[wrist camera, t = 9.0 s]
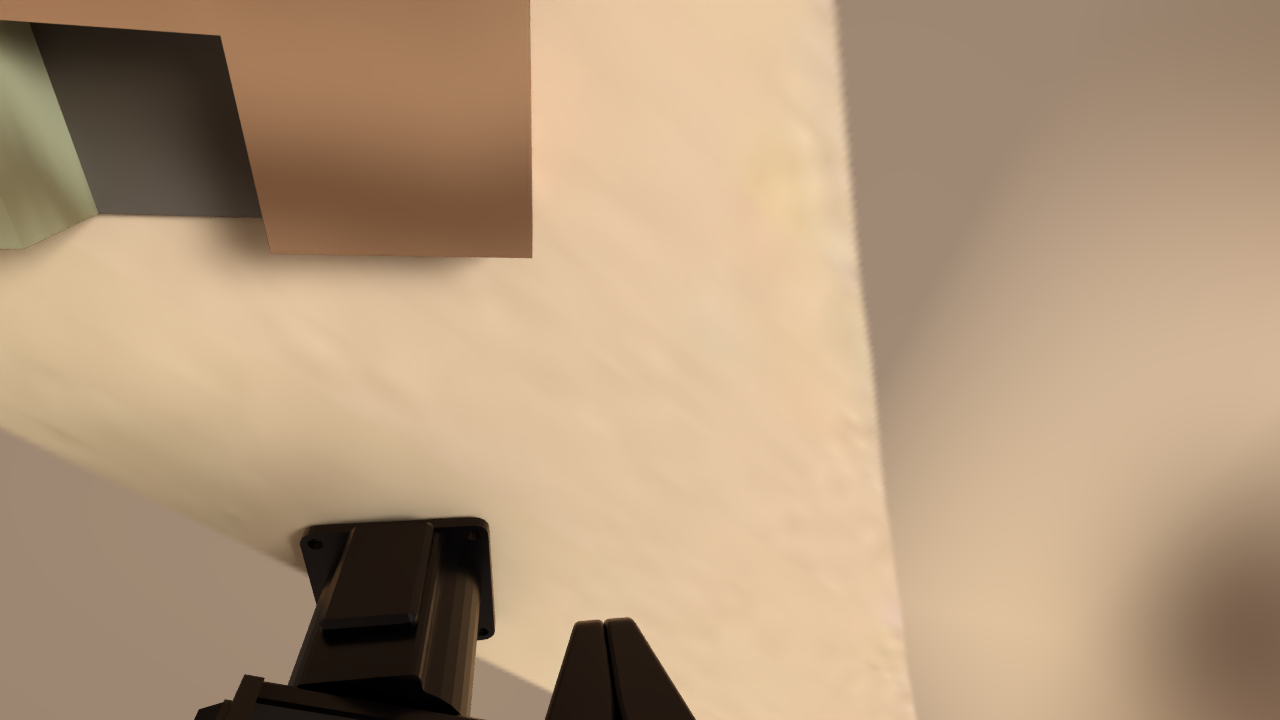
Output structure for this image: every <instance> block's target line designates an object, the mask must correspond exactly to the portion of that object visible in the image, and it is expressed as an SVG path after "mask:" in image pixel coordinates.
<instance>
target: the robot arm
mask: <svg viewBox="0 0 1280 720" xmlns="http://www.w3.org/2000/svg"><path fill="white" fill-rule="evenodd" d="M473 530H476V531H479V532H476V533H475V532H471V531H473ZM314 539H318V540H320V541H316V540H314ZM300 546H301V550H302V554H303V557H304V561H305V564H306V568H307V572H308V575H309V579H310V583H311V586H312V589H313V593H314V597H315V601H316V604H317V606H316V609H315V611H314V614H313V617H312V620H311V623H310V625H309V628H308V631H307V633H306V636H305V639H304V642H303V644H302V647H301V650H300V653H299V655H298V658H297V661H296V664H295V666H294V669H293V672H292V675H291V678H290V680H289V683H288V686H287V685H282V684H276V683H270V682H264V678H262V677H257V676H251V675H244V677H243V679H242V681H241V684H240V686H239V688H238V690H237V692H236V694H235V697H234V699H233V701H231V700H224V702H222V703H219V704H216V705H212V706H209V707H206V708H202V709H199V710H198V713H197V715H196V717H195V719H194V720H484V719H478V718H472V717H470V709H471V699H472V688H473V677H474V664H475V655H476V643H477V640H485V639H488V638H490V637H492V636H493V635H494V632H495V611H494V595H493V579H492V564H491V548H490V532H489V525H488V523H487V522H486V521H485V520H483V519H481V518H459V519H439V520H420V521H400V522H380V523H360V524H341V525H321V526H312V527H309V528H308V529H306V530H305V532H304V534H303V536H302V538H301V541H300ZM545 720H696V719H695V717H694V716H693V714H692V713H691V711H690V709H689V708H688V706H687V705H686V703H685V701H684V700H683V698H682V697H681V695H680V693H679V692H678V690H677V689H676V687H675V685H674V684H673V682H672V681H671V679H670V677H669V676H668V674H667V673H666V671H665V669H664V668H663V666H662V665H661V663H660V661H659V660H658V658H657V657H656V655H655V653H654V652H653V650H652V649H651V647H650V645H649V644H648V642H647V641H646V639H645V637H644V636H643V634H642V633H641V631H640V629H639V628H638V626H637V625H636V623H635V622H634V621H633V620H632V619H631V618H629V617H625V618H613V619H607V620H605V622H604V624H603V622H602V621H600V620H588V621H578V622H576V623H575V625H574V627H573V630H572V633H571V636H570V640H569V643H568V646H567V649H566V653H565V656H564V659H563V662H562V666H561V669H560V672H559V675H558V679H557V682H556V685H555V688H554V691H553V695H552V698H551V701H550V705H549V708H548V711H547V714H546V717H545Z"/></svg>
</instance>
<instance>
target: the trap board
mask: <svg viewBox="0 0 1280 720" xmlns="http://www.w3.org/2000/svg"><path fill="white" fill-rule="evenodd" d="M98 213H102V214H139V215H177V216H214V217H251V218H263V221H264V226H265V230H266V234H267V239H268V243H269V247H270V251H271V253H276V254H331V255H387V256H443V257H498V258H532V142H531V60H530V0H0V249H25V248H27V247H29V246H31V245H33V244H35V243H37V242H39V241H41V240H44V239H46V238H48V237H50V236H52V235H54V234H56V233H58V232H60V231H63V230H65V229H67V228H69V227H71V226H73V225H75V224H77V223H79V222H81V221H84V220H86V219H88V218H90V217H92V216H94V215H96V214H98Z"/></svg>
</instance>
